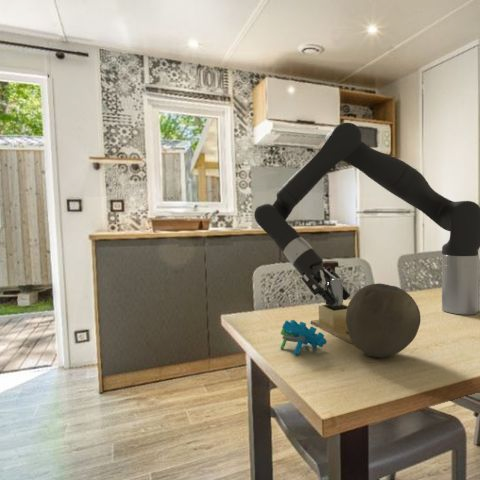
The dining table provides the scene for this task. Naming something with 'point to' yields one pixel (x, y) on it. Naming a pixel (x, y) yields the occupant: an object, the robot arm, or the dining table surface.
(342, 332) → the hinge leaf
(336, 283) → the pin
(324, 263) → the bolt
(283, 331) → the blue lobed toy
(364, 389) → the dining table surface
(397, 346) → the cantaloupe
